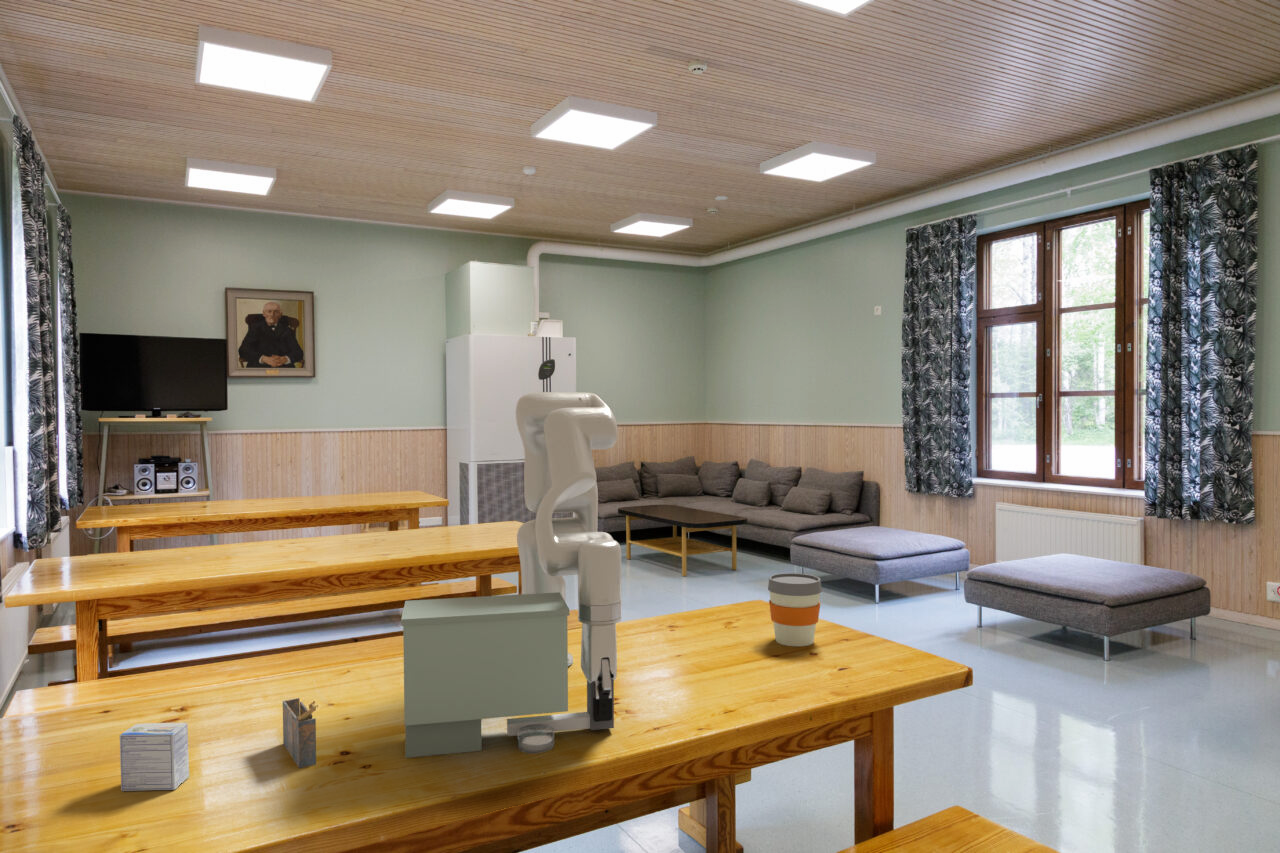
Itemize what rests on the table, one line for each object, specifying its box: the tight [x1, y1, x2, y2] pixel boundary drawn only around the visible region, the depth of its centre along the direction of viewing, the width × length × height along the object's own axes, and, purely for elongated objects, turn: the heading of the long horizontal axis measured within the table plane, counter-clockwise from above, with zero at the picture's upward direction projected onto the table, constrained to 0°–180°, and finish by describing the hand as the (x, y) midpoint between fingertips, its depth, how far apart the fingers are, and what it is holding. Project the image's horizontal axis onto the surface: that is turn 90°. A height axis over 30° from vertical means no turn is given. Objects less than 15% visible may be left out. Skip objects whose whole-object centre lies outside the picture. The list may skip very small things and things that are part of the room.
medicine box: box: [119, 722, 190, 792], centre depth 123 cm, size 8×4×9 cm, turn 92°
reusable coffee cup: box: [767, 572, 822, 647], centre depth 197 cm, size 13×13×15 cm
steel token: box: [517, 724, 555, 754], centre depth 137 cm, size 6×6×2 cm
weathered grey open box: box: [282, 697, 319, 769], centre depth 134 cm, size 11×3×10 cm, turn 35°
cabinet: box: [400, 592, 570, 759], centre depth 139 cm, size 13×27×23 cm, turn 103°
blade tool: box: [506, 676, 615, 737], centre depth 142 cm, size 4×18×9 cm, turn 103°
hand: (600, 714), depth 144 cm, fingers closed on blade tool, 4 cm apart
